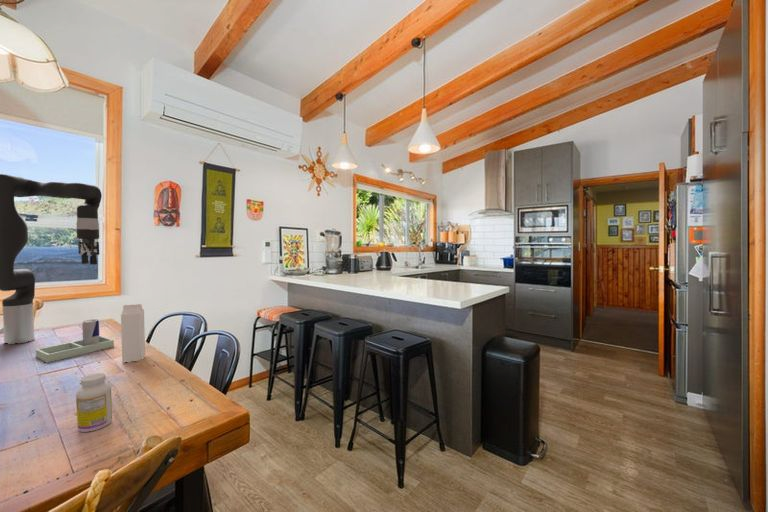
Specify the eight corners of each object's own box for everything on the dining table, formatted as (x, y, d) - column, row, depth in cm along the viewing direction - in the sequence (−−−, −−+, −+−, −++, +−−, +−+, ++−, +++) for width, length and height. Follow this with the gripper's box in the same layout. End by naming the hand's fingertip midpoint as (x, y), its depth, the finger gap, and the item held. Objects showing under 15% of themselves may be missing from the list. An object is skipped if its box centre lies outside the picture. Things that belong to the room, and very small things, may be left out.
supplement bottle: (92, 418, 85) (90, 371, 85) (118, 417, 86) (117, 371, 85) (69, 434, 79) (67, 382, 78) (98, 432, 79) (96, 382, 79)
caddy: (36, 356, 129) (35, 349, 129) (101, 342, 147) (100, 335, 147) (47, 362, 123) (47, 354, 123) (113, 346, 142) (113, 339, 142)
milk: (141, 361, 126) (139, 305, 124) (121, 363, 123) (120, 306, 122) (145, 356, 131) (144, 302, 130) (127, 357, 129) (125, 303, 127)
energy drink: (103, 346, 142) (102, 319, 142) (90, 350, 137) (90, 322, 136) (92, 345, 143) (91, 319, 142) (79, 349, 137) (78, 322, 137)
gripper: (70, 228, 146) (71, 263, 147) (84, 228, 139) (85, 265, 140) (91, 228, 152) (92, 262, 153) (105, 228, 146) (106, 264, 147)
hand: (89, 264), depth 147 cm, fingers open, 8 cm apart
